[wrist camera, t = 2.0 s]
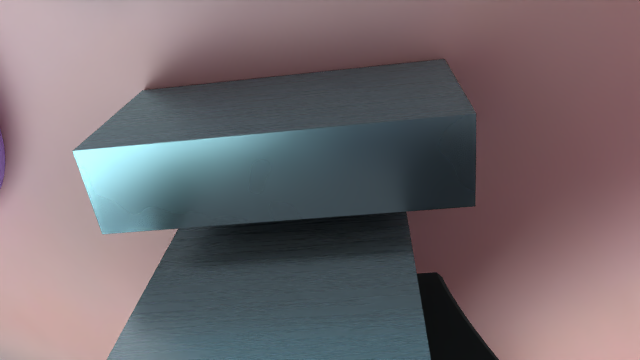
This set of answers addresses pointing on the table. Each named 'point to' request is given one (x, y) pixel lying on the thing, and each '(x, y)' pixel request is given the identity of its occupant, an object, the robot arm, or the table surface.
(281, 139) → the vise jaws
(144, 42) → the table surface
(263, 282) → the steel block
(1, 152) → the bracket
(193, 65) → the table surface
